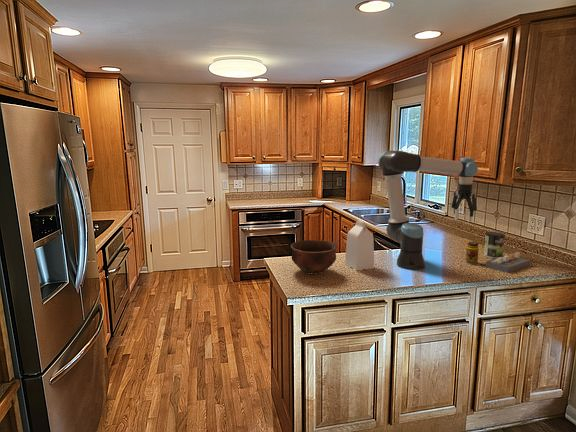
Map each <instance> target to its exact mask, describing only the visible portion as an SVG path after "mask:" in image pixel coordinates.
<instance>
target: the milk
mask: <svg viewBox="0 0 576 432" xmlns="http://www.w3.org/2000/svg"><path fill="white" fill-rule="evenodd" d="M365 223H366V222H365V221H362V220H359V219H358V220H356V221H355V224H354V226H353V227H352V228H351V229H350V230H349V231H348V232H347V235H346V247H345V260H344V261H345V262H344V265H345V264H346V265H345V266H347V265H348V266H350V267H352V268H353V269H352V268H351V269H352V270H354V269H355V270H359V271H362V270H361V269H366V270H369V269H368V268H373V269H375V249H374V247H375V245H374V243H375V242H374V241H375V240H374V235H373V233H372V232H371V231H370V230H369V229H368V228H367V227H366V224H365ZM348 266H347V267H348ZM350 267H349V268H350ZM355 270H354V271H355Z"/></svg>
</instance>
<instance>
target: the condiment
mask: <svg viewBox="0 0 576 432" xmlns="http://www.w3.org/2000/svg"><path fill="white" fill-rule="evenodd" d="M465 252H466V253H465V254H466V255H465V259H464V260H463V259H462V260H461V261H462V262H463V263H464V264H466V265H468V266H469V265H470V266H472V265H474V266H478V265H481V264H480V263H479V262H478V260H479V243H478V242H474V241H471V242H470V241H469V242H468V243H467V247H466V251H465Z"/></svg>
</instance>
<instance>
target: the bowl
mask: <svg viewBox="0 0 576 432" xmlns="http://www.w3.org/2000/svg"><path fill="white" fill-rule="evenodd" d="M337 247H338V245H337V244H336V243H334V242H332V241H329V240H322V239H321V240H320V239H319V240H316V239H315V240H314V239H312V240H311V239H306V240H298V241H294V242H292V243H291V244H290V250H291V260H292V262H293V263H294V264H295V265H296V266H297V268H299V269H300V271H301V272H303V273H305V274H307V273H310V274H309V275H316V274H315V273H318V274H322V273H323V272H325V271H326V270H328V269H330V268H331V266H333V265H334V263H335V262H336V260H337V253H336V250H337ZM321 272H322V273H321ZM311 273H312V274H311Z"/></svg>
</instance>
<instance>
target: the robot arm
mask: <svg viewBox="0 0 576 432" xmlns="http://www.w3.org/2000/svg"><path fill="white" fill-rule="evenodd" d="M377 163H378V164H377V165H378V168H379V169H380V170H381V171H382V177H384V178H385V180H386V181H385V182H386V183H385V184H386V190H387V191H386V192H387V199H388V200H387V201H388V207H389V208H388V209H389V215H390V217H389V219H388V220H387V221H388V223H387V226H386V229H385V231H386V232H385V233H386V234H387V236H388V237H389V238H390V240H392V241H394V242H397V243H398V244H400V249H399V250H400V252H399V254H398V256H397V259H396V266H398V267H400V268H402V269H405V270H421V269H424V268H425V267H426V262H425V259H424V255H423V243H424V227H423V226H422V225H420V224H418V223H413V222H410V221H409V220H410V219H409V217H408V216H406V209H405V200H404V190H403V181H402V176H403V174H404V173H408V172H409V173H417V172H419V171H420V172H428V173H437V174H438V173H439V174H443V175H455V176H458V178H459V179H458V191H454V192H453V198H452V202H451V206H450V207H451V208H452V209H453V215H454V221H457V220H459V217H460V216H459V214H460V209H459V207H460V205H461V203H462V201H463V200H465V201H466V204H467V206H468V209H469V211H468V212H467V213H468V215H467V222H468V223H472V218H473V217H474V212H475V211H478V206H477V204H478V203H477V193H473V182H474V181H473V180H474V176H475V175H477V174H478V171H479V170H478V168H479V167H478V165H477V163H475V159H474V158H473V157H461V158H460V160H452V159H445V158H443V159H442V158H435V157H427V156H421V155H420V154H416V153H412V152H408V151H403V150H386V151H383V153H381V154H380V155H379V158H378V161H377Z"/></svg>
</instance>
